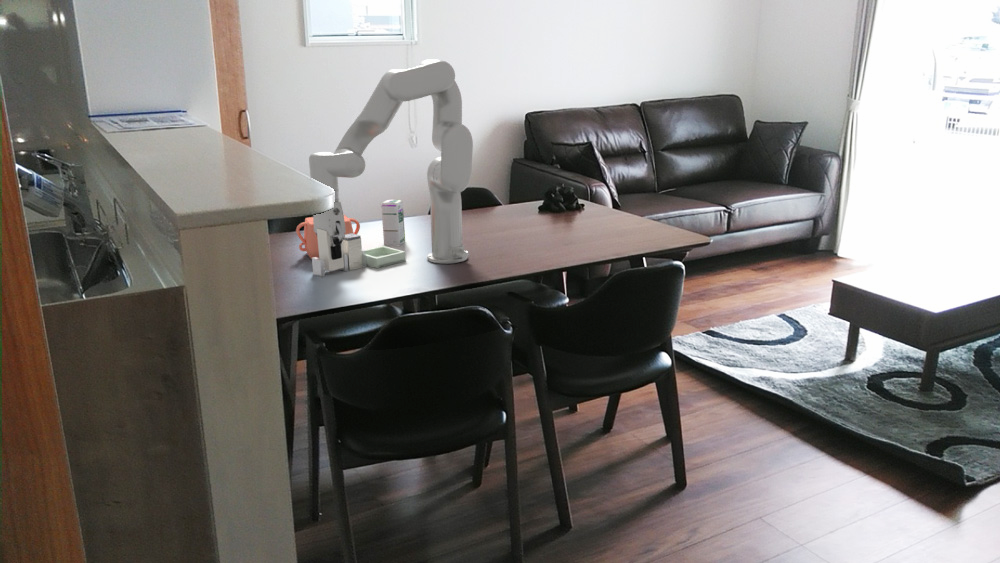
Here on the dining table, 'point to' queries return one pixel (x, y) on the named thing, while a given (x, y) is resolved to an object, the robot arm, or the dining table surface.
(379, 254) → the tray
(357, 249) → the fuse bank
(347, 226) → the teapot
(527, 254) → the dining table surface
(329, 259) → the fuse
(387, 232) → the syrup box
